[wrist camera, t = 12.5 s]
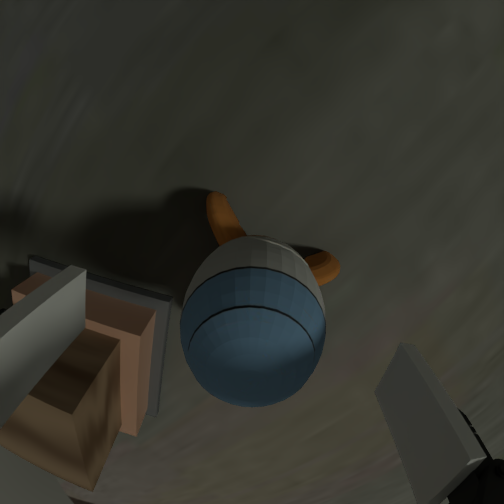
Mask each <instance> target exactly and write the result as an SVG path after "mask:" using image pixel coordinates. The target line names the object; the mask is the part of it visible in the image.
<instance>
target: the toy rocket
mask: <svg viewBox="0 0 504 504" xmlns="http://www.w3.org/2000/svg"><path fill="white" fill-rule="evenodd" d="M226 198H227V197H226V196H225V195H224V194H221V193H219V192H216V191H215V192H211V193H209V195H208V196H207V199H206V208H207V217H208V220H209V223H210V226H211V228H212V231H213V233H214V235H215V238H216V240H217V242H218V244H219V247H218V248H217V249H216V250H215V251H213V252H212V253H211V254H210V255H209V256H208V257H207V258H206V259H205V260H204V262H203V263H202V264H201V266H200V267H199V268H198V270H197V271H196V273H195V274H194V276H193V278H192V280H191V283H190V285H189V287H188V289H187V291H186V294H185V298H184V302H183V307H182V312H181V318H180V334H181V344H182V347H183V351H184V355H185V358H186V361H187V363H188V365H189V367H190V369H191V371H192V372H193V374H194V376H195V378H196V379H197V381H198V382H199V383H200V384H201V386H202V387H203V388H204V389H205V390H207V391H208V392H209V393H210V394H211V395H213V396H215V397H217V398H218V399H220V400H222V401H225V402H228V403H230V404H233V405H238V406H243V407H262V406H267V405H272V404H275V403H277V402H280V401H283V400H285V399H287V398H288V397H290V396H292V395H293V394H295V393H296V392H297V391H298V390H299V389H301V388H302V386H303V385H304V384H305V382H306V381H307V380H308V378H309V377H310V375H311V374H312V373H313V371H314V369H315V367H316V365H317V363H318V361H319V359H320V356H321V354H322V350H323V346H324V341H325V334H326V320H325V307H324V302H323V298H322V295H321V291H320V288H319V286H321V285H323V284H326V283H328V282H330V281H331V280H333V279H334V278H335V277H336V276H337V275H338V274H339V271H340V264H339V261H338V260H337V259H336V258H335V257H334V256H333V255H332V254H330V253H329V252H326V251H323V252H320V253H317V254H314V255H310V256H307V257H306V258H305V259H303V258H302V257H301V256H300V255H299V254H298V252H296V251H295V250H294V249H293V248H291V247H290V246H289V245H287V244H285V243H283V242H281V241H279V240H277V239H274V238H271V237H267V236H260V235H249V236H247V235H246V233H245V231H244V230H243V229H242V228H241V226H240V225H239V221H238V219H237V217H236V216H235V214H234V212H233V210H232V209H231V207H230V205H229V204H228V202H227V200H226Z"/></svg>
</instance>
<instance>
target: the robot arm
mask: <svg viewBox="0 0 504 504" xmlns="http://www.w3.org/2000/svg"><path fill="white" fill-rule="evenodd" d="M85 296H86V269H83V268H79V267H76V266H73V265H70V266H69V267H67V268H66V269H64V270H63V271H61V272H60V273H58V274H57V275H55V276H54V277H52V278H51V279H49V280H48V281H47V282H45V283H44V284H42V285H41V286H39V287H38V288H37V289H35V290H34V291H32V292H31V293H30V294H28V295H27V296H25V297H24V298H23V299H21V300H20V301H18V302H17V303H16V304H14V305H13V306H12V307H10V308H9V309H8V310H6V309H4V308H3V309H0V429H1V428H2V426H3V425H4V424H5V423H6V421H7V420H8V419H9V417H10V416H11V415H12V414H13V412H14V411H15V410H16V408H17V407H18V406H19V405H20V403H21V402H22V401H23V400H24V398H25V397H26V396H27V395H28V394H29V392H30V391H31V390H32V389H33V387H34V386H35V385H36V384H37V383H38V381H39V380H40V379H41V378H42V377H43V375H44V374H45V373H46V372H47V371H48V369H49V368H50V367H51V366H52V365H53V364H54V362H55V361H56V360H57V359H58V358H59V357H60V356H61V354H62V353H63V352H64V351H65V350H66V349H67V348H68V346H69V345H70V344H71V343H72V342H73V341H74V340H75V338H76V337H77V336H78V335H79V334H80V333H81V332H82V331H83V330H84V328H85ZM375 395H376V397H377V399H378V402H379V404H380V407H381V409H382V412H383V414H384V417H385V419H386V421H387V424H388V426H389V429H390V432H391V434H392V437H393V439H394V442H395V444H396V447H397V449H398V452H399V455H400V457H401V460H402V463H403V465H404V468H405V471H406V473H407V476H408V479H409V482H410V484H411V487H412V490H413V493H414V496H415V498H416V501H417V504H440V503H441V502H442V501H443V500H444V499H445V498H446V497H448V500H449V502H450V503H449V504H504V460H502V459H494V460H493V459H492V457H491V455H490V454H489V452H488V450H487V449H486V447H485V445H484V444H483V442H482V440H481V439H480V437H479V436H478V434H476V433H477V432H476V431H475V429H474V427H472V424H471V423H470V421H469V420H468V418H467V416H466V415H465V414H464V413H463V412H461V411H460V410H459V409H458V408H457V407H456V405H455V404H454V402H453V401H452V399H451V398H450V396H449V395H448V393H447V392H446V390H445V389H444V387H443V386H442V384H441V383H440V381H439V380H438V378H437V377H436V375H435V374H434V372H433V371H432V369H431V368H430V366H429V365H428V363H427V362H426V361H425V359H424V358H423V356H422V355H421V353H420V352H419V351H418V349H417V348H416V346H415V345H412V344H406V343H400V345H399V347H398V349H397V351H396V353H395V355H394V357H393V359H392V360H391V362H390V364H389V366H388V368H387V370H386V372H385V374H384V376H383V377H382V379H381V381H380V383H379V385H378V386H377V388H376V390H375Z"/></svg>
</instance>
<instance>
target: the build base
mask: <svg viewBox="0 0 504 504" xmlns="http://www.w3.org/2000/svg"><path fill="white" fill-rule="evenodd" d="M67 267H68V266H65V265H62V264H59V263H56V262H53V261H50V260H47V259H44V258H41V257H38V256H34V257H32V258H30V259H29V268H30V277H29V278H28V279H26V280H25V281H23V282H22V283H20V284H19V285H17V286H16V287H14V288H13V289H11V290H12V300H13V305H14V304H16V303H17V302H18V301H20V300H21V299H23V298H24V297H25V296H27V295H28V294H30V293H31V292H32V291H34V290H35V289H37V288H38V287H39V286H41V285H42V284H44V283H45V282H47V281H48V280H49V279H51V278H52V277H54V276H55V275H57V274H58V273H60V272H61V271H63V270H64V269H66V268H67ZM172 299H173V297H171V296H167V295H163V294H159V293H156V292H152V291H149V290H145V289H141V288H138V287H134V286H131V285H127V284H124V283H120V282H117V281H114V280H110V279H107V278H103V277H100V276H97V275H94V274H90V273H87V272H86V296H85V328H87V329H90V330H93V331H96V332H99V333H102V334H105V335H108V336H111V337H114V338H117V339H120V394H121V420H122V425H121V428H120V430H119V431H121V432H124V433H127V434H130V435H133V436H137V434H138V431H139V429H140V426H141V424H142V421H143V418H144V416H145V414H146V415H150V416H153V417H157V414H158V411H159V402H160V392H161V382H162V373H163V365H164V356H165V348H166V341H167V333H168V326H169V319H170V312H171V305H172Z"/></svg>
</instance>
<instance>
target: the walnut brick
mask: <svg viewBox="0 0 504 504" xmlns="http://www.w3.org/2000/svg"><path fill="white" fill-rule="evenodd" d="M121 425H122V420H121V394H120V339H117V338H114V337H111V336H108V335H105V334H102V333H99V332H96V331H93V330H90V329H87V328H84V330H83V331H82V332H81V333H80V334H79V335H78V336H77V337H76V338H75V340H74V341H73V342H72V343H71V344H70V345H69V346H68V348H67V349H66V350H65V351H64V352H63V353H62V354H61V356H60V357H59V358H58V359H57V360H56V361H55V362H54V364H53V365H52V366H51V367H50V368H49V369H48V371H47V372H46V373H45V374H44V375H43V377H42V378H41V379H40V380H39V381H38V383H37V384H36V385H35V386H34V387H33V389H32V390H31V391H30V392H29V394H28V395H27V396H26V397H25V398H24V400H23V401H22V402H21V403H20V405H19V406H18V407H17V408H16V410H15V411H14V412H13V414H12V415H11V416H10V417H9V419H8V420H7V421H6V423H5V424H4V425H3V426H2V428H1V429H0V445H1V446H3V447H4V448H6V449H8V450H9V451H11V452H13V453H14V454H16V455H18V456H19V457H21V458H23V459H25V460H26V461H28V462H30V463H32V464H34V465H36V466H38V467H40V468H41V469H43V470H45V471H47V472H49V473H51V474H53V475H55V476H57V477H60V478H62V479H64V480H66V481H68V482H70V483H73V484H75V485H77V486H80V487H82V488H84V489H87V490H89V491H92V492H93V490H94V488H95V485H96V483H97V480H98V478H99V476H100V473H101V471H102V469H103V466H104V464H105V462H106V459H107V457H108V455H109V452H110V450H111V448H112V446H113V443H114V441H115V439H116V436H117V434H118V432H119V430H120V428H121Z"/></svg>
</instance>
